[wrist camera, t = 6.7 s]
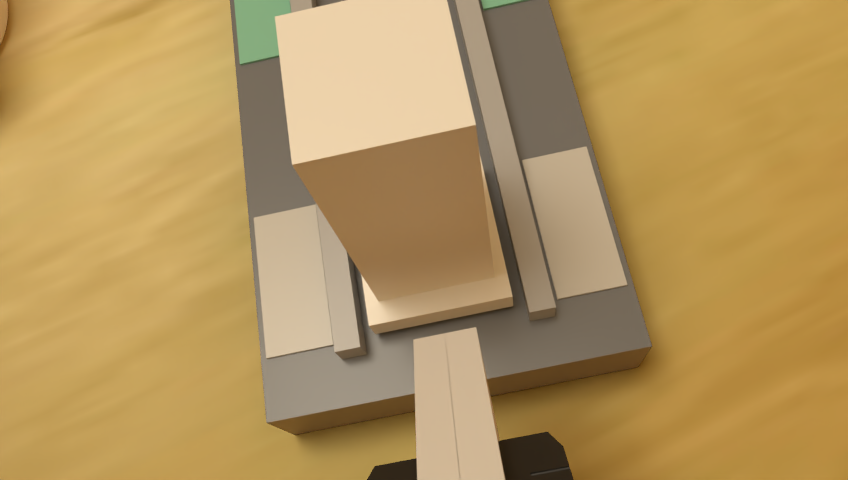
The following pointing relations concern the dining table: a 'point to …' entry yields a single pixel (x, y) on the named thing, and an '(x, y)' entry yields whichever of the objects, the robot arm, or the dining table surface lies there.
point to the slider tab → (394, 156)
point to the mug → (3, 18)
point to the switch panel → (513, 211)
